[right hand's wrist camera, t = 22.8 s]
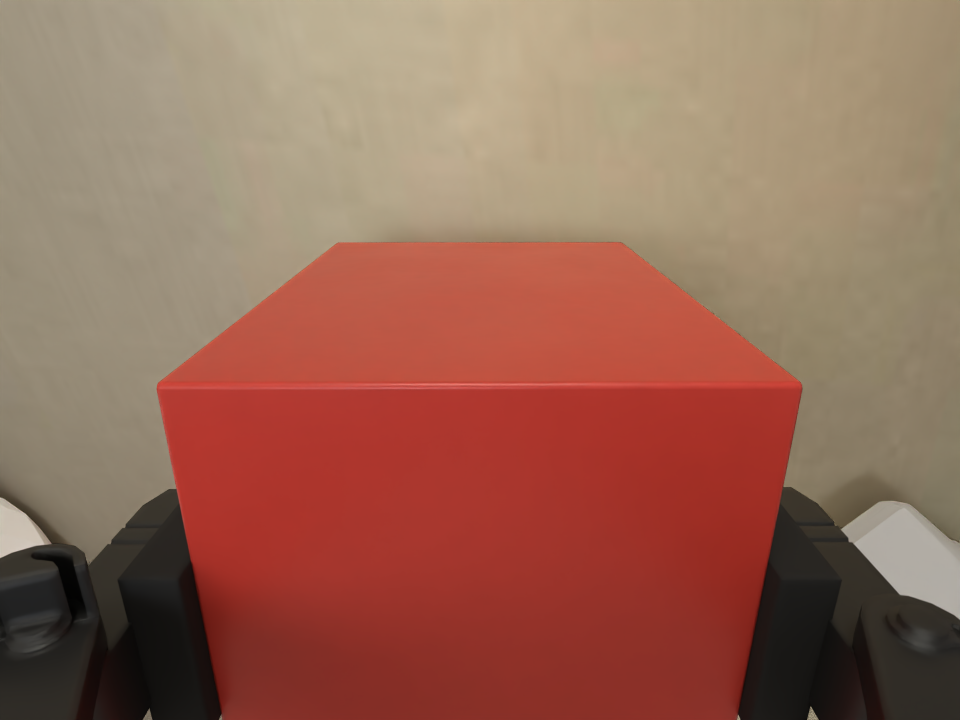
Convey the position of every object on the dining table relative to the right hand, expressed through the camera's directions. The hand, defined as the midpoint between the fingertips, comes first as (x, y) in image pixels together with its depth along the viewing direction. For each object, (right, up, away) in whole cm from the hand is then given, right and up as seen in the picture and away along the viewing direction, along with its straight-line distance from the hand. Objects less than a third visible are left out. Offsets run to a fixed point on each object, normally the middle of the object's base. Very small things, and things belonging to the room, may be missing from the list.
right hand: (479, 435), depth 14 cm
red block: (0, +1, +3) cm, 4 cm away
